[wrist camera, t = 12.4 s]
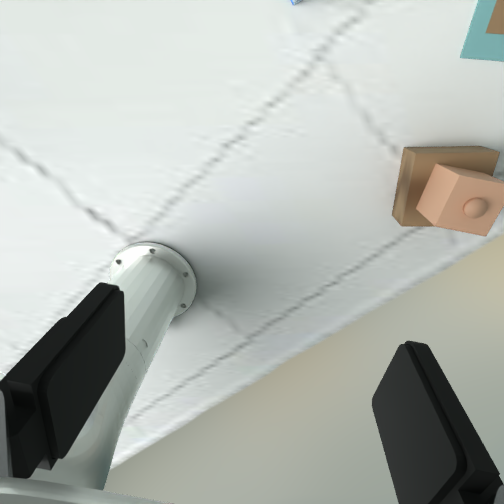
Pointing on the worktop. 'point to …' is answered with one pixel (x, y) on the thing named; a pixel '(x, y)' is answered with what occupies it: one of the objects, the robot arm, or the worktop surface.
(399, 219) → the walnut block
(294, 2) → the medicine box
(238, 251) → the worktop surface
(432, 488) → the robot arm
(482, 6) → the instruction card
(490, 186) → the painted brick
